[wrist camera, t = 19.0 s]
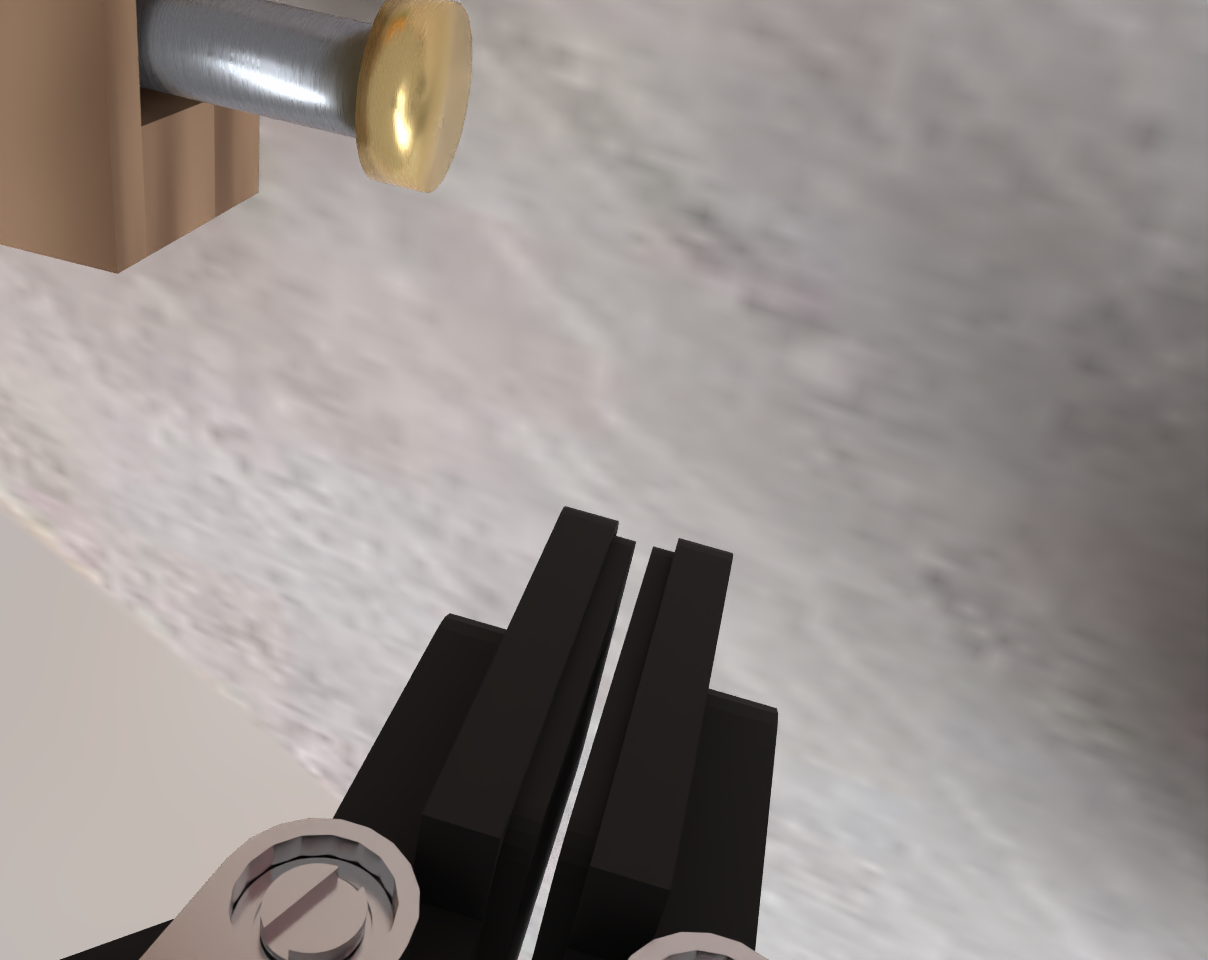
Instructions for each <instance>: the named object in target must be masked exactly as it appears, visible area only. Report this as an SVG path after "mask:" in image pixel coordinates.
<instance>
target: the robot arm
mask: <svg viewBox="0 0 1208 960" xmlns="http://www.w3.org/2000/svg"><path fill="white" fill-rule="evenodd" d="M618 524H619V521H616V520H613V519H609V518H606V517H602V516H599V515H595V514H591V513H588V512H584V511H581V510H577V509H574V508H570V507H566V506H565V507H564V508H563V510H562V511H561V513H560V516H559V518H558V520H557V522H556V524H555V526H554V529H553V531H552V533H551V535H550V537H549V539H548V542H547V544H546V546H545V548H544V550H543V552H542V555H541V557H540V559H539V561H538V563H537V565H536V568H535V570H534V572H533V574H532V576H531V578H530V581H529V583H528V585H527V587H526V589H525V591H524V594H523V596H522V598H521V600H520V602H519V604H518V607H517V609H516V611H515V613H514V615H513V617H512V620H511V622H510V624H509V626H508V628H507V630H506V629H502V628H499V627H495V626H492V625H489V624H485V623H482V622H478V621H475V620H471V619H468V618H465V617H461V616H458V615H454V614H451V613H450V614H448V615H447V616H446V617H445V618H444V619H443V621H442V622H441V624H440V625H439V627H438V629H437V630H436V632H435V634H434V636H433V638H432V639H431V641H430V643H429V645H428V647H427V649H426V650H425V652H424V654H423V656H422V658H421V659H420V661H419V663H418V665H417V667H416V668H415V670H414V672H413V674H412V676H411V678H410V679H409V681H408V683H407V685H406V687H405V688H404V690H403V692H402V694H401V696H400V698H399V699H398V701H397V703H396V705H395V707H394V708H393V710H392V712H391V714H390V716H389V717H388V719H387V721H386V723H385V725H384V727H383V728H382V730H381V732H380V734H379V736H378V737H377V739H376V741H375V743H374V745H373V746H372V748H371V750H370V752H369V754H368V756H367V757H366V759H365V761H364V763H363V765H362V766H361V768H360V770H359V772H358V774H357V775H356V777H355V779H354V781H353V783H352V785H351V786H350V788H349V790H348V792H347V794H346V795H345V797H344V799H343V801H342V803H341V804H340V806H339V808H338V810H337V812H336V814H335V816H334V817H333V819H322V818H307V819H303V820H298V821H293V822H288V823H284V824H279V825H277V826H274V827H272V828H270V829H268V830H266V831H264V832H262V833H260V834H258V835H256V836H254V837H252V838H250V839H249V840H248V841H246V842H245V843H244V844H243V845H242V846H240V847H239V848H238V849H237V850H236V851H235V852H234V853H232V854H231V855H230V856H229V857H228V858H227V859H226V860H225V861H224V862H223V863H222V864H221V866H220V867H219V868H218V869H217V870H216V871H215V873H214V874H213V875H212V876H211V877H210V878H209V879H208V881H207V882H206V883H205V884H204V885H203V886H202V888H201V889H200V890H199V891H198V892H197V893H196V895H195V896H194V897H193V898H192V899H191V900H190V901H189V903H188V904H187V905H186V906H185V907H184V908H183V910H182V911H181V912H180V913H179V914H178V915H177V916H176V918H175V919H172V920H169V921H167V922H164V923H161V924H158V925H155V926H153V927H150V928H147V929H144V930H142V931H139V932H136V933H133V934H130V935H128V936H125V937H122V938H119V939H116V940H113V941H111V942H108V943H105V944H102V945H100V946H97V947H94V948H91V949H89V950H86V951H83V952H80V953H78V954H75V955H72V956H69V957H66V958H63V959H60V960H517V959H518V956H519V953H520V950H521V947H522V943H523V940H524V937H525V934H526V931H527V928H528V924H529V921H530V918H531V915H532V912H533V908H534V905H535V902H536V899H537V896H538V892H539V889H540V886H541V883H542V880H543V877H544V873H545V870H546V867H547V864H548V861H549V857H550V854H551V851H552V848H553V845H554V842H555V838H556V835H557V832H558V829H559V826H560V822H561V819H562V816H563V813H564V810H565V807H566V803H567V800H568V797H569V794H570V791H571V787H572V784H573V781H574V778H575V775H576V771H577V768H578V765H579V761H580V758H581V754H582V751H583V747H584V743H585V739H586V736H587V732H588V728H589V724H590V720H591V716H592V712H593V708H594V704H595V701H596V697H597V693H598V689H599V685H600V681H601V677H602V673H603V669H604V666H605V662H606V658H607V654H608V650H609V646H610V642H611V638H612V634H613V631H614V627H615V623H616V619H617V615H618V611H619V607H620V603H621V599H622V596H623V592H624V588H625V584H626V580H627V576H628V572H629V568H630V564H631V561H632V557H633V553H634V549H635V544H636V541H632V540H629V539H625V538H622V537H618V536H616V534H617V529H618ZM732 559H733V553H730V552H727V551H723V550H719V549H716V548H712V547H709V546H705V545H702V544H698V543H695V542H691V541H687V540H684V539H680V538H679V539H678V543H677V546H676V550H675V552H671V551H668V550H664V549H661V548H657V547H653V549H652V552H651V555H650V559H649V562H648V565H647V569H646V572H645V575H644V578H643V582H642V585H641V588H640V591H639V595H638V598H637V601H636V605H635V608H634V611H633V614H632V618H631V621H630V624H629V628H628V631H627V634H626V637H625V641H624V644H623V647H622V650H621V654H620V657H619V660H618V664H617V667H616V670H615V673H614V677H613V680H612V683H611V686H610V690H609V693H608V696H607V700H606V703H605V706H604V709H603V713H602V716H601V719H600V723H599V726H598V729H597V732H596V736H595V739H594V742H593V745H592V749H591V752H590V755H589V759H588V762H587V765H586V768H585V772H584V775H583V778H582V781H581V785H580V788H579V791H578V795H577V798H576V801H575V804H574V808H573V811H572V814H571V818H570V821H569V824H568V828H567V831H566V834H565V838H564V841H563V845H562V848H561V852H560V855H559V859H558V862H557V866H556V870H555V873H554V877H553V881H552V884H551V888H550V892H549V896H548V900H547V904H546V908H545V911H544V915H543V919H542V923H541V927H540V931H539V934H538V938H537V942H536V946H535V950H534V954H533V958H532V960H768V959H767V958H765V957H763V956H762V955H760V954H759V953H757V952H755V946H756V936H757V926H758V916H759V906H760V896H761V886H762V876H763V866H764V856H765V846H766V836H767V826H768V816H769V806H770V796H771V786H772V776H773V766H774V756H775V746H776V736H777V726H778V712H777V708H774V707H770V706H767V705H763V704H760V703H757V702H753V701H750V700H746V699H743V698H739V697H736V696H732V695H729V694H726V693H722V692H719V691H715V690H712V689H708V688H709V683H710V677H711V672H712V667H713V661H714V656H715V651H716V645H717V640H718V634H719V629H720V624H721V618H722V613H723V608H724V602H725V597H726V592H727V586H728V581H729V576H730V570H731V565H732Z"/></svg>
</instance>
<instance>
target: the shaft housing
mask: <svg viewBox="0 0 1208 960" xmlns="http://www.w3.org/2000/svg"><path fill="white" fill-rule="evenodd" d="M258 172H259V115H256V114H252V113H248V112H243V111H239V110H235V109H231V108H226V107H222V106H218V105H214V104H210V103H205V102H201V101H197V100H193V99H188V98H184V97H180V96H176V95H171V94H167V93H163V92H159V91H154V90H150V89H146V88H142V87H140V84H139V62H138V39H137V16H136V0H0V244H1V245H5V246H9V247H13V248H17V249H21V250H25V251H29V252H33V253H37V254H41V255H45V256H49V257H53V258H57V259H61V260H65V261H69V262H73V263H77V264H81V265H85V266H89V267H93V268H97V269H101V270H105V271H109V272H113V273H117V274H118V273H120V272H121V271H123V270H125V269H127V268H128V267H130V266H132V265H133V264H135V263H137V262H139V261H140V260H142V259H144V258H146V257H147V256H149V255H151V254H153V253H154V252H156V251H158V250H159V249H161V248H163V247H165V246H166V245H168V244H170V243H172V242H173V241H175V240H177V239H179V238H180V237H182V236H184V235H185V234H187V233H189V232H191V231H192V230H194V229H196V228H198V227H199V226H201V225H203V224H204V223H206V222H208V221H210V220H211V219H213V218H215V217H217V216H218V215H220V214H222V213H224V212H225V211H227V210H229V209H230V208H232V207H234V206H236V205H237V204H239V203H241V202H243V201H244V200H246V199H248V198H250V197H251V196H253V195H255V194H256V193H258Z"/></svg>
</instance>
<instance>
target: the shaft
mask: <svg viewBox="0 0 1208 960" xmlns="http://www.w3.org/2000/svg"><path fill="white" fill-rule="evenodd" d="M136 16H137V39H138V62H139V84H140V87H142V88H146V89H150V90H154V91H159V92H163V93H167V94H171V95H176V96H180V97H184V98H188V99H193V100H197V101H201V102H205V103H210V104H214V105H218V106H222V107H226V108H231V109H235V110H239V111H243V112H248V113H252V114H256V115H260V116H265V117H269V118H273V119H277V120H282V121H286V122H290V123H294V124H299V125H303V126H307V127H311V128H315V129H320V130H324V131H328V132H332V133H337V134H341V135H345V136H349V137H354V138H356V142H357V149H358V154H359V159H360V162H361V165H362V168H363V170H364V172H365V173H366V175H367V176H368V177H369V178H370V179H372V180H375V181H379V182H384V183H388V184H392V185H396V186H400V187H405V188H409V189H413V190H417V191H421V192H426V193H429V192H432V191H434V190H435V189H436V188H437V187H438V186H439V185H440V183H441V182H442V180H443V179H444V177H445V175H446V174H447V172H448V170H449V168H450V165H451V163H452V160H453V158H454V155H455V152H456V150H457V146H458V143H459V140H460V136H461V132H462V129H463V124H464V120H465V115H466V110H467V105H468V98H469V91H470V83H471V72H472V37H471V28H470V23H469V19H468V15H467V13H466V10H465V9H464V7H463V6H462V5H461V4H460V3H457V2H453V1H449V0H386V1H385V2H384V4H383V5H382V7H381V9H380V10H379V12H378V14H377V16H376V18H375V21H374V23H373V24H369V23H364V22H360V21H355V20H351V19H347V18H342V17H338V16H333V15H329V14H325V13H320V12H316V11H311V10H307V9H303V8H298V7H294V6H289V5H285V4H281V3H276V2H272V1H267V0H136Z"/></svg>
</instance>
